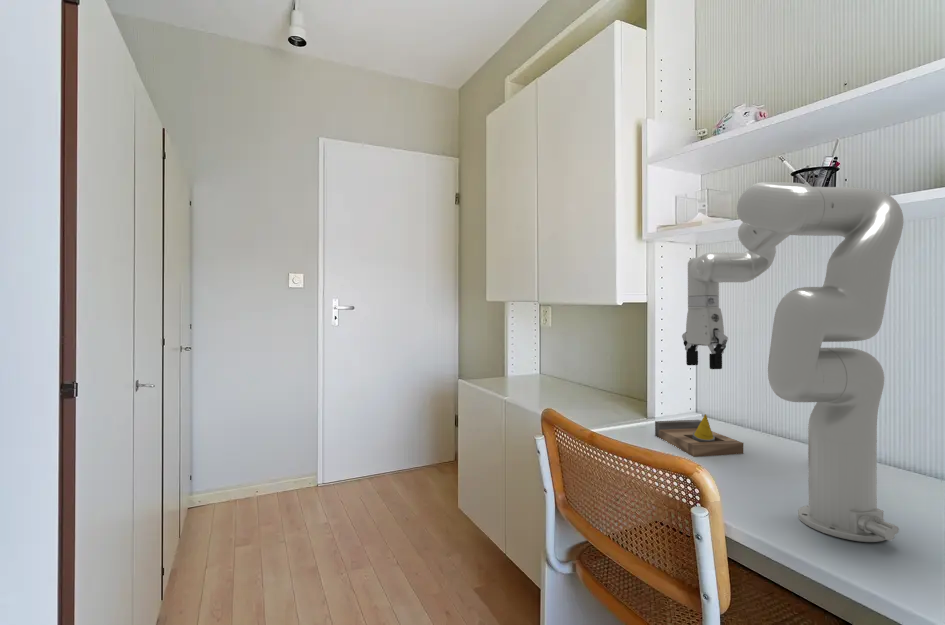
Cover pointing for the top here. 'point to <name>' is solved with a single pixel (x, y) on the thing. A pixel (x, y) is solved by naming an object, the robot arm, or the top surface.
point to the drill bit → (704, 432)
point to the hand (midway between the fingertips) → (703, 367)
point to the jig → (682, 438)
